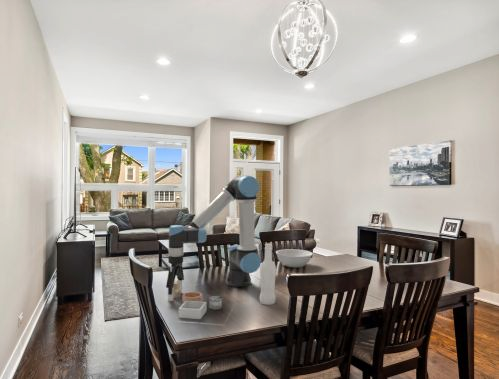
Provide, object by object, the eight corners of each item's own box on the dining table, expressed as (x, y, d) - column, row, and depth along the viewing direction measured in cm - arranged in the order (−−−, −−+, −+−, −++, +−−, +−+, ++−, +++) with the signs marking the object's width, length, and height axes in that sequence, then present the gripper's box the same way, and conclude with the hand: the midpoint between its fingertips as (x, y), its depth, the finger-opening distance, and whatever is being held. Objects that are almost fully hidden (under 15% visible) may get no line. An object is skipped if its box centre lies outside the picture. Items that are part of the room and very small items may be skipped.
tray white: (206, 312, 157) (206, 302, 157) (200, 321, 147) (200, 309, 147) (185, 311, 158) (185, 300, 158) (178, 319, 148) (178, 308, 148)
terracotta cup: (203, 303, 169) (203, 292, 169) (198, 309, 160) (198, 298, 160) (186, 302, 170) (186, 291, 170) (180, 308, 161) (180, 297, 161)
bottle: (258, 299, 175) (259, 242, 174) (274, 299, 175) (275, 242, 175) (260, 305, 167) (261, 245, 166) (276, 305, 167) (277, 245, 167)
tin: (223, 306, 164) (223, 296, 164) (220, 311, 158) (220, 300, 158) (210, 306, 165) (210, 295, 165) (207, 310, 159) (207, 299, 159)
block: (180, 297, 177) (180, 281, 177) (177, 299, 173) (177, 284, 173) (173, 296, 178) (173, 281, 178) (170, 299, 174) (170, 283, 174)
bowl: (272, 262, 262) (272, 249, 262) (306, 261, 265) (306, 249, 265) (279, 271, 235) (279, 256, 234) (317, 270, 238) (317, 256, 237)
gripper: (177, 250, 188) (176, 288, 188) (159, 259, 164) (158, 303, 164) (190, 251, 187) (189, 289, 187) (174, 260, 163) (173, 304, 163)
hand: (175, 296), depth 176 cm, fingers open, 12 cm apart
